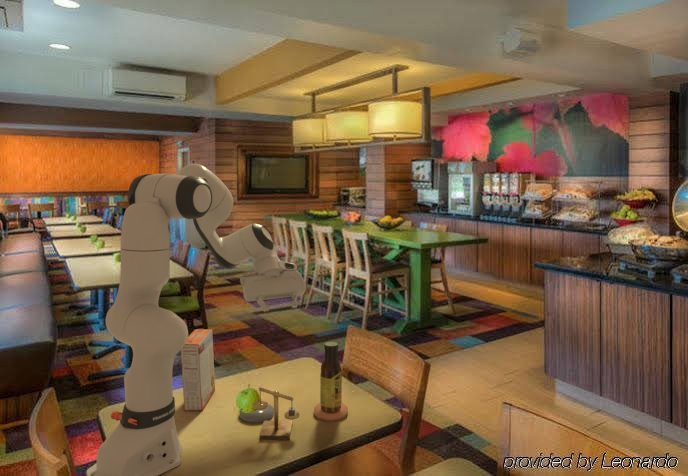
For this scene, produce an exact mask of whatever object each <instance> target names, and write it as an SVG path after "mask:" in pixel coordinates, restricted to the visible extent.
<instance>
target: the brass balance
mask: <svg viewBox="0 0 688 476" xmlns="http://www.w3.org/2000/svg"><path fill="white" fill-rule="evenodd" d="M258 391H259V401H255V402H254V404H253V403H252V404H253V408H254V409H257V410H262V409H265V408H267V407H268V404H269V403H268V402H267V401H265V400H262V393H265V394H268V395H271V396H273V408H274V416H273V419H274V420H268V421H264V422H262V426H261V428H260V429H261V430H260V433H259V441H260V440H266V441H267V440H269V441H270V440H272V441H279V440H280V441H281V440H282V441H284V440H285V441H287V440H289V441H290V439H291V435H292V430H293V425H294V424H293V420H297V419H299V417H300V412H299V411H296V407H295V406H294V407H293V401H294V397H292V396H289V395H286V394H283V393H280V392H279V391H278V390H269V389H267V388H264V387H259V388H258ZM279 398H282V399H285V400H288V401H291V402H290V403H291V405H290V406H291V407H289V408H288V411H286V412H285V413H284V418H285V419H287V420H280V419H279V417H280V415H279Z"/></svg>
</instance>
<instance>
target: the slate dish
mask: <svg viewBox="0 0 688 476" xmlns="http://www.w3.org/2000/svg"><path fill="white" fill-rule="evenodd" d="M239 418H240V420H241V421H242V422H245V423H249V424H260V423H264V421H271V420H272V419H273V418H274V406H272V405H271V404H269V403H268V407H267V408H265V409H262V410H256V411H254V412H252V413H244V412H242V411H241V409H240V410H239Z"/></svg>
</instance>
